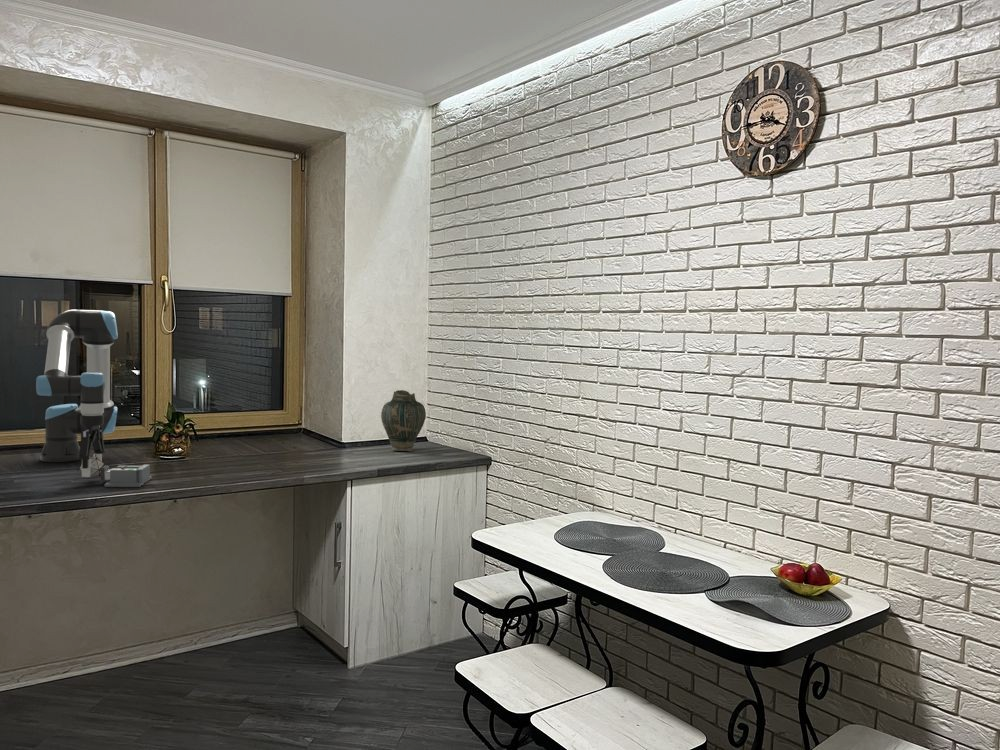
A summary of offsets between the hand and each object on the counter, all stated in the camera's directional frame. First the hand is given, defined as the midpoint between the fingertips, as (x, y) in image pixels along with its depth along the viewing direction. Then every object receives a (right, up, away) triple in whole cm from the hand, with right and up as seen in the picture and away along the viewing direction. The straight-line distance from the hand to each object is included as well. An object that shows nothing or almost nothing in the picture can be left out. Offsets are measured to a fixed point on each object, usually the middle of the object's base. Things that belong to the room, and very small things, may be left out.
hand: (91, 473), depth 268 cm
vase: (+103, -1, +94) cm, 139 cm away
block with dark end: (+8, -2, 0) cm, 9 cm away
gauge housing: (+12, -4, +2) cm, 13 cm away
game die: (0, -1, 0) cm, 1 cm away
